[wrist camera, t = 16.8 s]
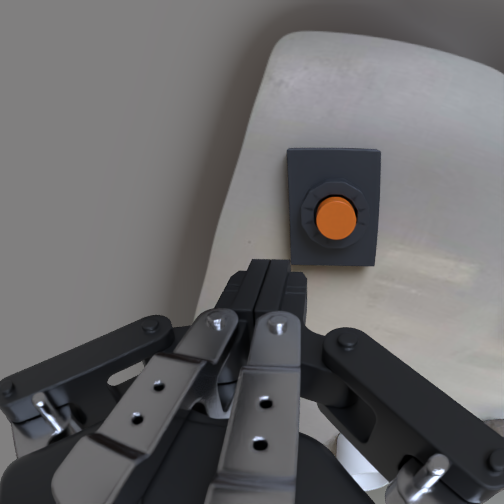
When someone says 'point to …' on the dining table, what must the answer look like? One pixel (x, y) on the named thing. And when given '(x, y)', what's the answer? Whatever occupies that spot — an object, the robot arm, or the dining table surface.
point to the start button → (335, 218)
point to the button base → (333, 185)
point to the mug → (358, 466)
